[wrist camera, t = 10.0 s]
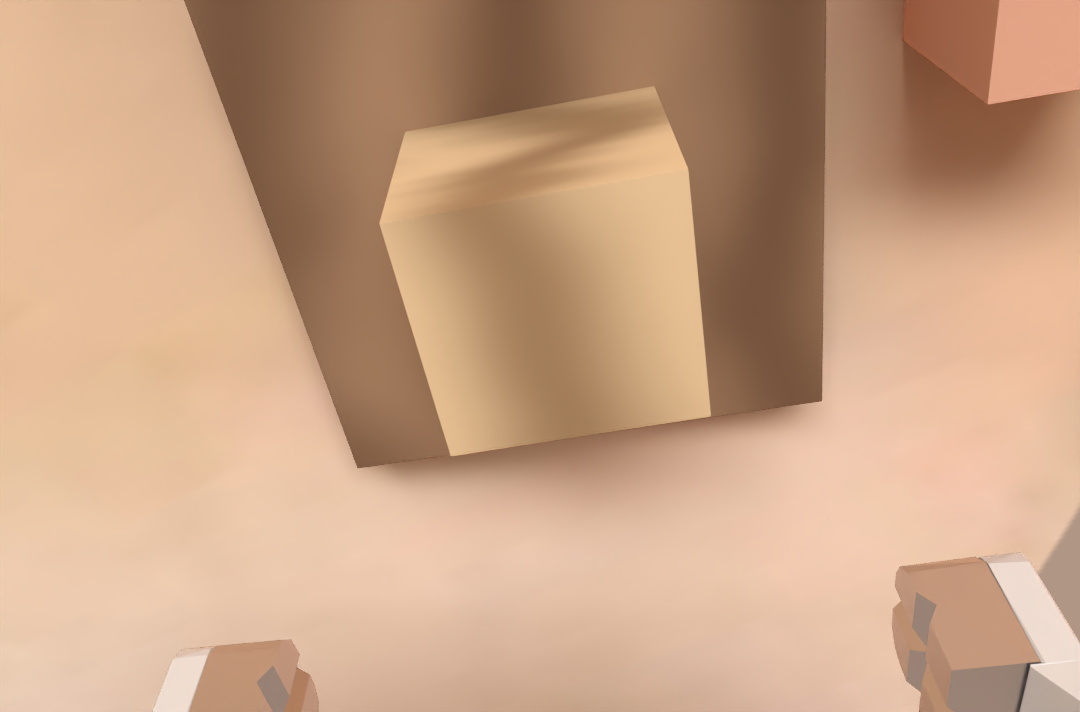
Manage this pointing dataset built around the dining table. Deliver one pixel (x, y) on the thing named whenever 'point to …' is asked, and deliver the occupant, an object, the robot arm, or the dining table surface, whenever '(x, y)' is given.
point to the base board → (514, 85)
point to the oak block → (550, 271)
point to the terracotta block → (999, 44)
